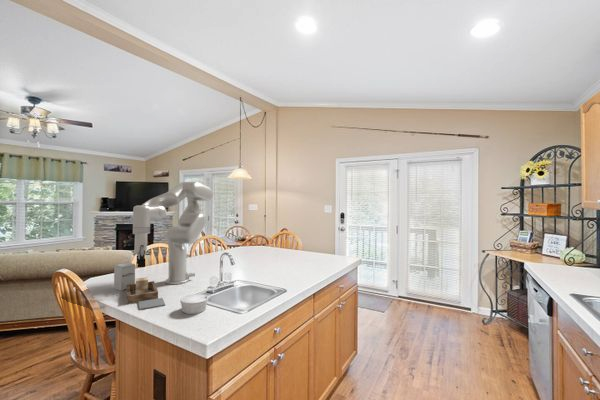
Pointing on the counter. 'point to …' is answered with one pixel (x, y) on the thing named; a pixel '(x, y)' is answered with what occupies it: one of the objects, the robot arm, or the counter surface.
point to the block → (141, 285)
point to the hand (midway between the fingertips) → (140, 265)
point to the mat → (151, 303)
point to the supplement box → (124, 275)
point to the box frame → (142, 296)
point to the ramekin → (194, 303)
